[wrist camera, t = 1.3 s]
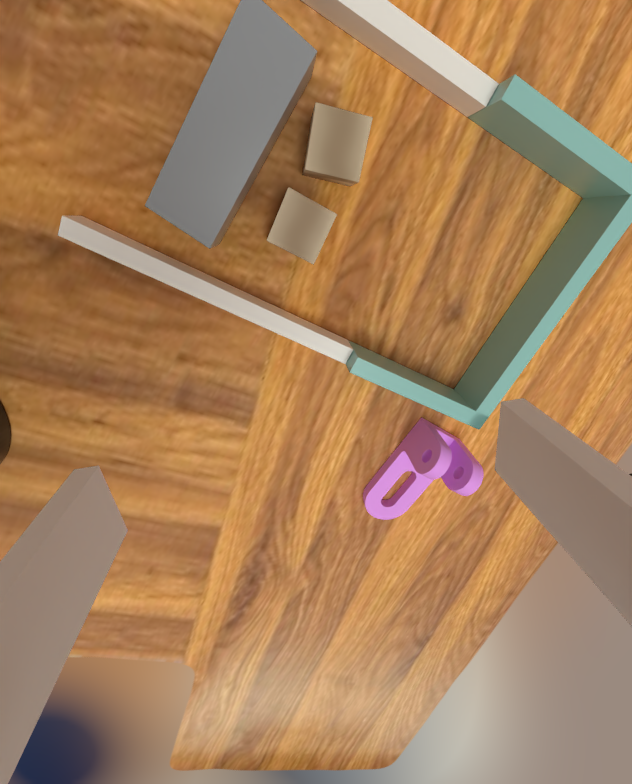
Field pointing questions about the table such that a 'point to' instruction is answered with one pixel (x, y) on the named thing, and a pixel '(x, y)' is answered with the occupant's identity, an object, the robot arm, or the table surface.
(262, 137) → the block
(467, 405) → the bay
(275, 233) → the chip
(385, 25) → the channel
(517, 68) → the table surface
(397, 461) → the bracket
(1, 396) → the table surface
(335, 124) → the chip
